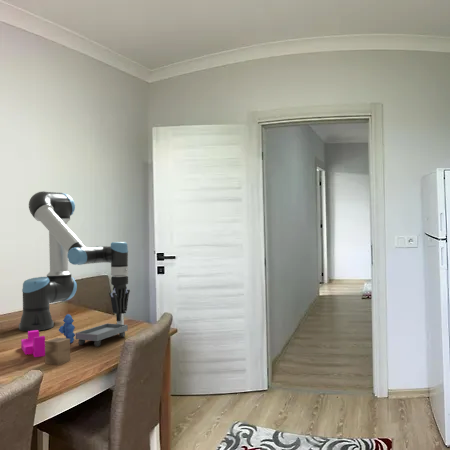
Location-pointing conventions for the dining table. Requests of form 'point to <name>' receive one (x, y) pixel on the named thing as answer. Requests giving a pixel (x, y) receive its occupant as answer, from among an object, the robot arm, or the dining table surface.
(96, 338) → the cart
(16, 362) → the dining table surface
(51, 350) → the walnut block
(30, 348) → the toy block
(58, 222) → the robot arm
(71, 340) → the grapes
